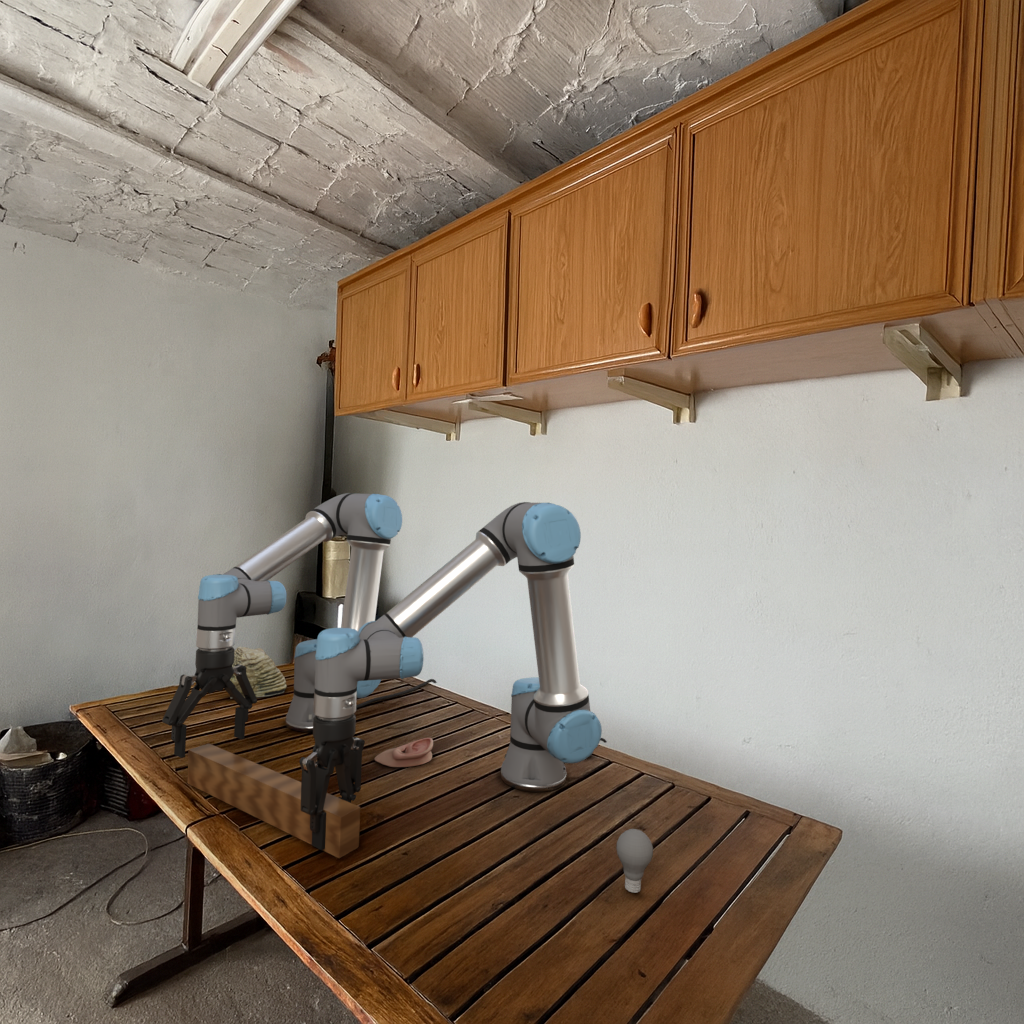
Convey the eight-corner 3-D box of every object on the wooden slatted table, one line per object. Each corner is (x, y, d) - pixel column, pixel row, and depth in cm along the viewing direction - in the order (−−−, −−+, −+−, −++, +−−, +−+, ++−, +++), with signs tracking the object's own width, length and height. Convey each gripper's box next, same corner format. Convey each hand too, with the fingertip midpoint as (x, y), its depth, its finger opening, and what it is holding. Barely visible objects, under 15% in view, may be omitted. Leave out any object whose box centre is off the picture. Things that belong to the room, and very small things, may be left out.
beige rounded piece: (369, 747, 150) (388, 730, 162) (368, 764, 151) (387, 746, 162) (422, 754, 148) (438, 736, 159) (421, 771, 148) (437, 752, 159)
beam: (187, 783, 137) (188, 749, 137) (207, 776, 141) (208, 743, 141) (339, 858, 111) (340, 817, 111) (358, 846, 115) (360, 806, 115)
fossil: (218, 695, 195) (220, 647, 195) (278, 685, 208) (279, 640, 207) (228, 703, 189) (230, 653, 188) (289, 692, 201) (290, 645, 201)
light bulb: (610, 879, 108) (613, 822, 108) (644, 879, 109) (647, 822, 109) (619, 902, 102) (622, 840, 102) (655, 901, 103) (658, 840, 103)
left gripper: (167, 660, 123) (161, 769, 123) (276, 641, 144) (271, 734, 144) (146, 654, 127) (141, 759, 127) (255, 636, 148) (251, 727, 148)
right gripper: (309, 733, 106) (304, 870, 107) (384, 706, 121) (379, 826, 122) (280, 723, 110) (275, 855, 111) (356, 698, 125) (352, 815, 126)
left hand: (210, 746), depth 136 cm, fingers open, 13 cm apart
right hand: (330, 840), depth 116 cm, fingers closed on beam, 5 cm apart
